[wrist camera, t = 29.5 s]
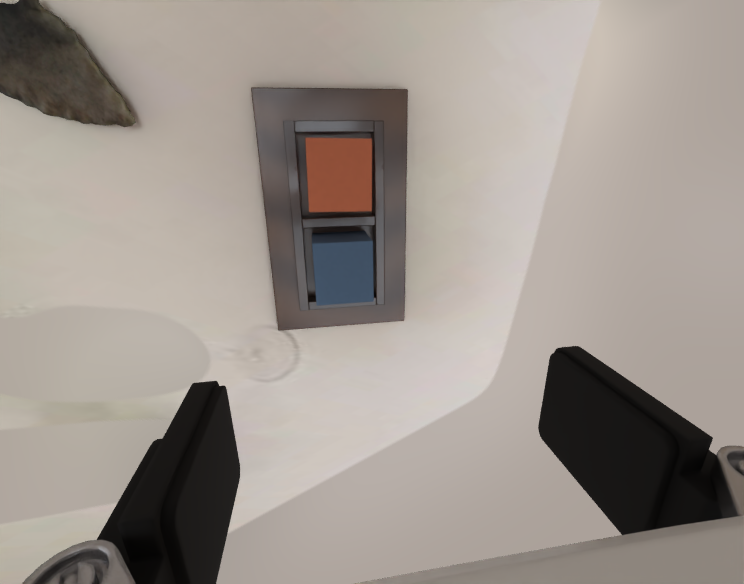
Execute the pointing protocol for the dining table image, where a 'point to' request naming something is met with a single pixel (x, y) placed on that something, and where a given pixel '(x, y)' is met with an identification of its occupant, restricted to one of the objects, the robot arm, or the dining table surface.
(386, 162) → the dark brown flat tray
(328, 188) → the orange-brown block
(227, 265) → the dining table surface
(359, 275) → the blue block
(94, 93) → the arrowhead
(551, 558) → the robot arm
